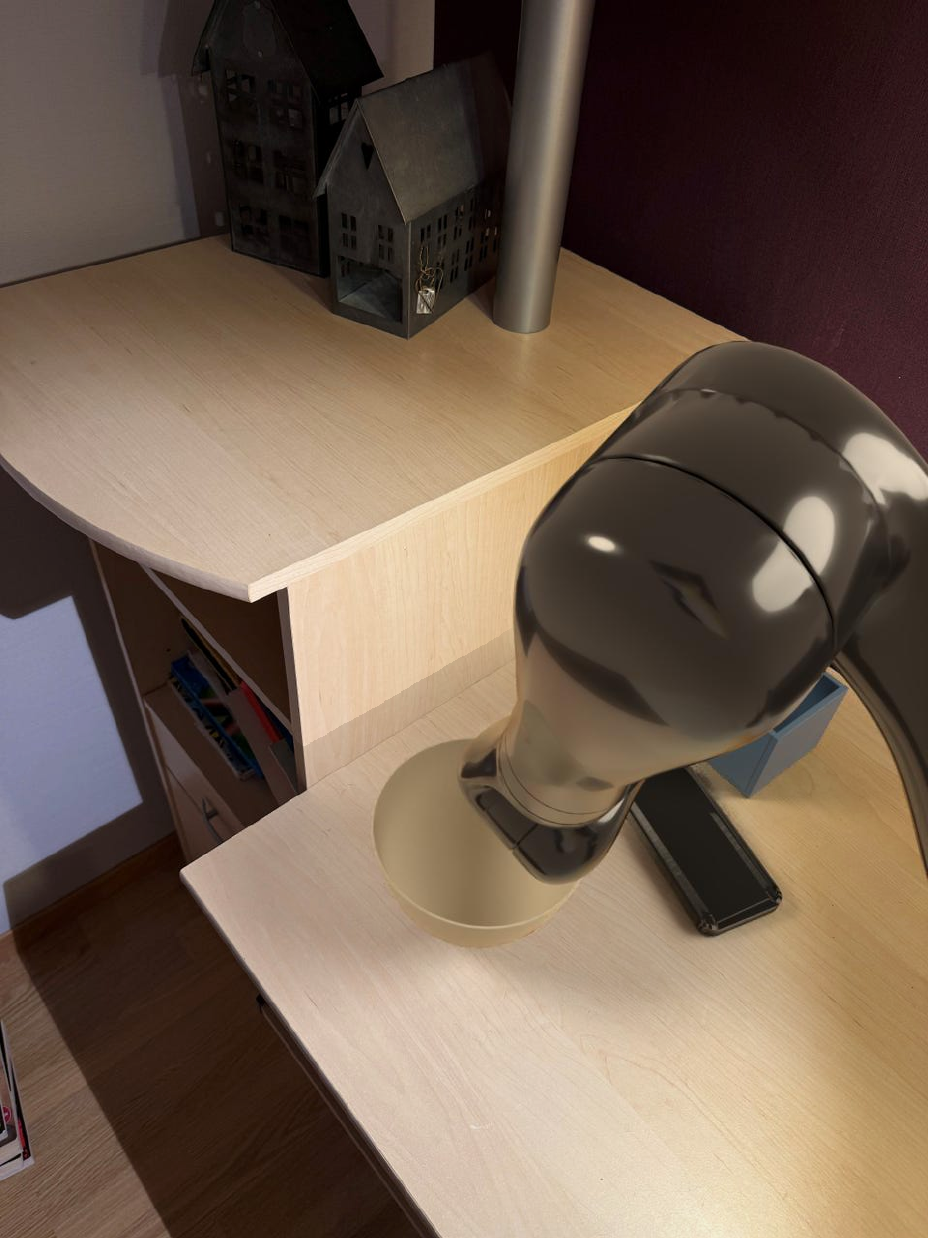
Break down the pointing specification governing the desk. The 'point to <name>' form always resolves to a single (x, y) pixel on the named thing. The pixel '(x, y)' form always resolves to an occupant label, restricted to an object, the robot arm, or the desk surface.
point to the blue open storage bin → (783, 740)
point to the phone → (701, 853)
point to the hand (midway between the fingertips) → (805, 565)
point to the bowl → (453, 858)
